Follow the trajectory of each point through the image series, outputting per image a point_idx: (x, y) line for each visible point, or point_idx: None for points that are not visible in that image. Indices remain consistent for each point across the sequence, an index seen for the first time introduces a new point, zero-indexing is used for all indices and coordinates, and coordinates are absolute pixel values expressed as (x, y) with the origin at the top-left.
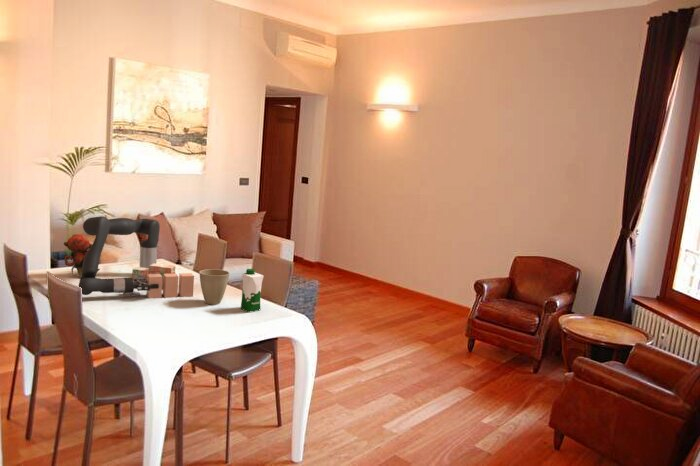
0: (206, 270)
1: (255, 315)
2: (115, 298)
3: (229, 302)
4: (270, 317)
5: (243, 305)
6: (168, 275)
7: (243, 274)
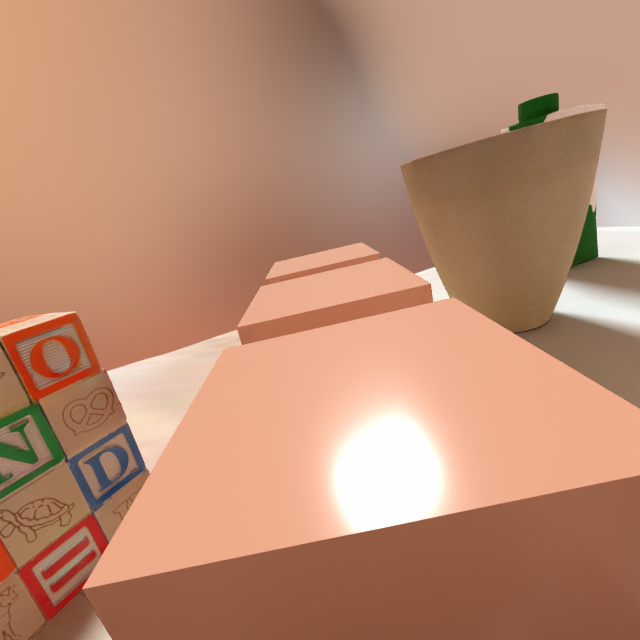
0: (420, 164)
1: (630, 247)
2: None
3: None
4: (624, 236)
5: (578, 246)
6: (349, 288)
7: (565, 110)
